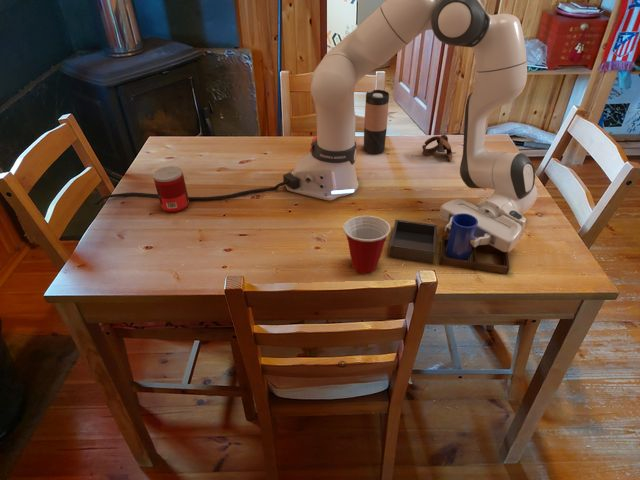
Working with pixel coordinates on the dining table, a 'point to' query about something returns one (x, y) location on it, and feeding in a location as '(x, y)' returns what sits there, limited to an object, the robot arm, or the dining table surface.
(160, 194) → the canned food
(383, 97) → the travel mug
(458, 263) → the brown divided tray
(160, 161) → the dining table surface
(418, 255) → the dark brown square tray
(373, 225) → the plastic cup
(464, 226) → the blue cup
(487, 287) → the dining table surface
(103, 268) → the dining table surface
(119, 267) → the dining table surface
